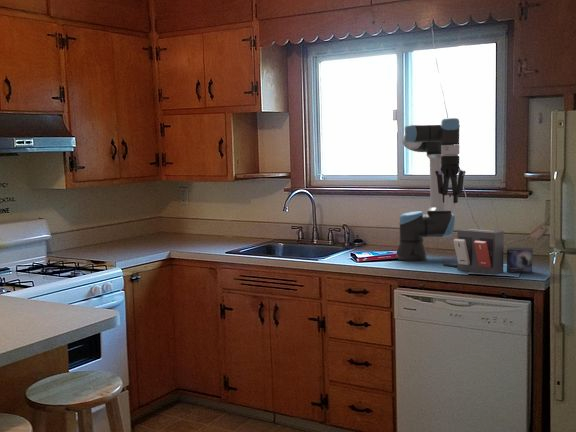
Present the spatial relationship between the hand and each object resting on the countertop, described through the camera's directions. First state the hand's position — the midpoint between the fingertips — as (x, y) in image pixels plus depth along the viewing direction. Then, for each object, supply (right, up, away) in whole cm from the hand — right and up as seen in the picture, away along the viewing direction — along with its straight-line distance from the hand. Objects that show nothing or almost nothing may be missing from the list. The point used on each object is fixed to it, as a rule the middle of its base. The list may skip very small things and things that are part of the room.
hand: (450, 210), depth 277 cm
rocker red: (+17, -24, +6) cm, 30 cm away
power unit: (+13, -27, +17) cm, 34 cm away
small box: (+32, -27, +8) cm, 43 cm away
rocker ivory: (+10, -24, +13) cm, 29 cm away
